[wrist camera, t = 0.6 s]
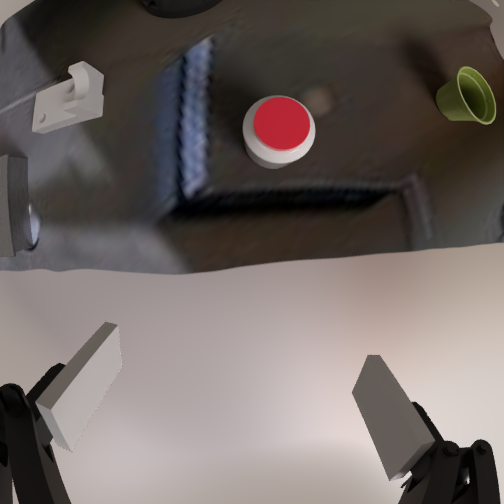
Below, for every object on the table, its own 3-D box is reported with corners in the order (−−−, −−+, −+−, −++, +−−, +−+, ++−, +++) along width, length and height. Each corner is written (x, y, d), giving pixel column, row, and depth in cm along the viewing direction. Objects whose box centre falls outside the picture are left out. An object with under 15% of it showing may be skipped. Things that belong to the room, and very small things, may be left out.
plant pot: (440, 134, 34) (473, 128, 26) (419, 82, 32) (448, 67, 24) (471, 125, 33) (502, 120, 25) (451, 78, 31) (480, 66, 23)
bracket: (106, 77, 32) (83, 60, 25) (102, 116, 34) (76, 105, 26) (48, 97, 32) (22, 88, 25) (44, 134, 34) (16, 129, 26)
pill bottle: (255, 176, 36) (258, 172, 25) (235, 124, 34) (230, 100, 24) (309, 158, 35) (332, 148, 25) (289, 107, 34) (304, 78, 23)
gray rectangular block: (-5, 167, 34) (-25, 168, 28) (29, 154, 34) (7, 153, 28) (1, 250, 38) (-18, 257, 32) (35, 248, 38) (14, 256, 32)
